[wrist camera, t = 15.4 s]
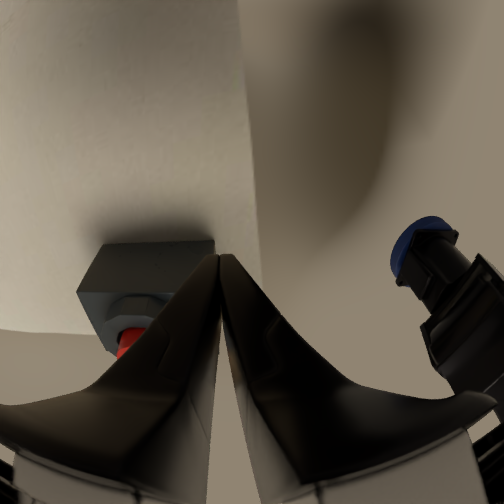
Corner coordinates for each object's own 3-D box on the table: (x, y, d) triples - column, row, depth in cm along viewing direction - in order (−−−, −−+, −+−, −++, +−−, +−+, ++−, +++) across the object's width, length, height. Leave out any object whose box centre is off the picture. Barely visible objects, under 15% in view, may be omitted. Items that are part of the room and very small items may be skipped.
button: (165, 326, 17) (161, 348, 15) (175, 357, 19) (173, 377, 17) (115, 325, 16) (109, 345, 15) (130, 355, 18) (126, 374, 17)
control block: (214, 239, 22) (212, 312, 16) (219, 302, 26) (219, 373, 20) (102, 244, 21) (66, 309, 15) (121, 302, 25) (101, 368, 19)
